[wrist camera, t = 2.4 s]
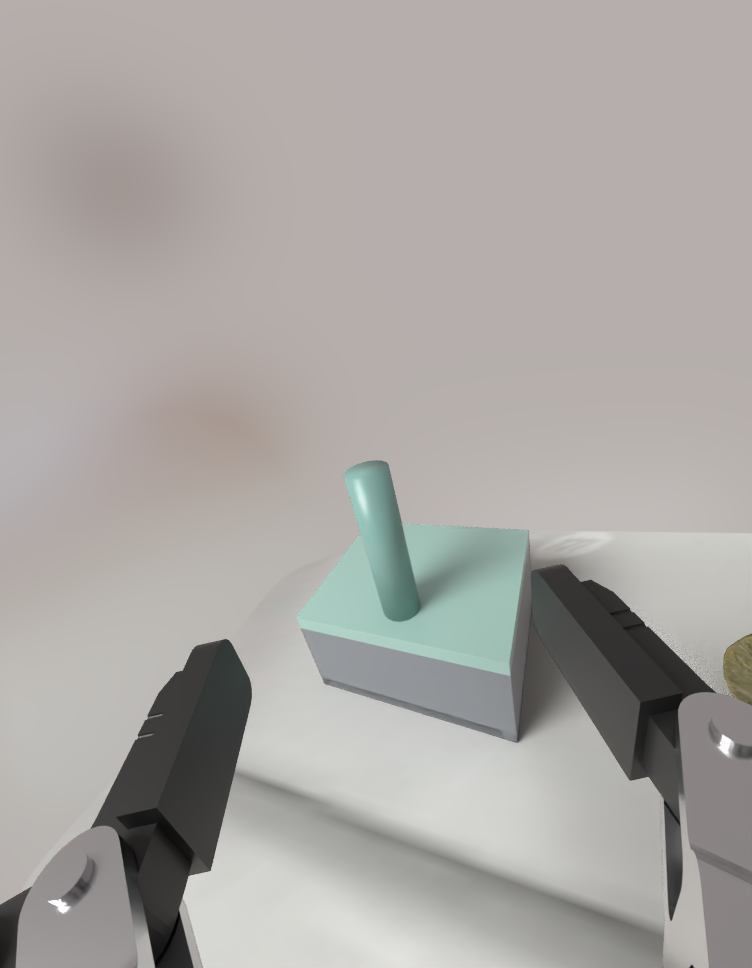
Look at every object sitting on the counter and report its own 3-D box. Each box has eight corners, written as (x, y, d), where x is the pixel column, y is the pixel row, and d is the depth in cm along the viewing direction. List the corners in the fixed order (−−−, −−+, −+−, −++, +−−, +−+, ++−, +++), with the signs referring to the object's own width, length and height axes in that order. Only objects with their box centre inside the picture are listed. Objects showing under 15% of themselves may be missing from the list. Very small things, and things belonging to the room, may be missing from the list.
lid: (529, 551, 29) (521, 403, 24) (511, 688, 20) (491, 494, 15) (374, 539, 36) (341, 421, 31) (304, 638, 26) (241, 491, 21)
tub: (532, 598, 31) (529, 540, 29) (517, 742, 22) (510, 676, 19) (385, 578, 38) (371, 530, 35) (324, 683, 28) (300, 628, 26)
